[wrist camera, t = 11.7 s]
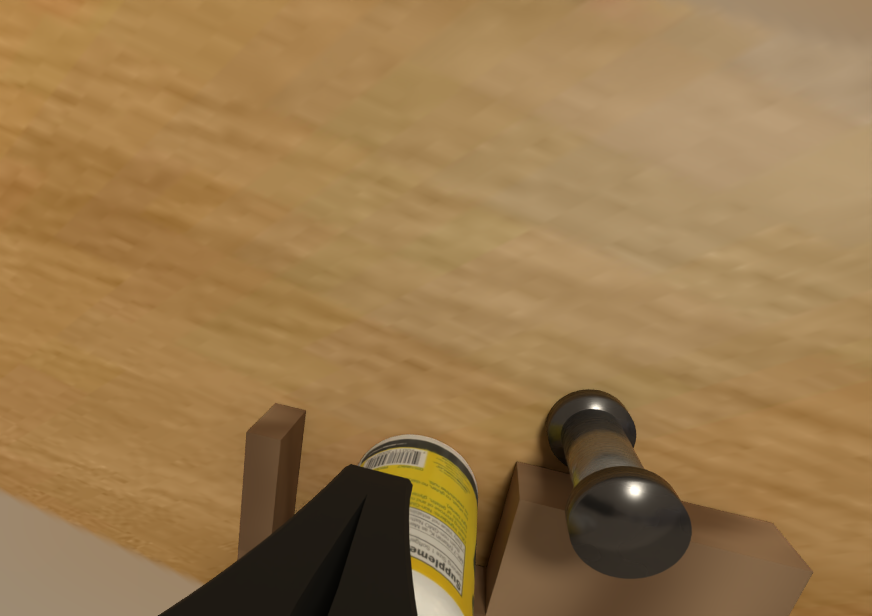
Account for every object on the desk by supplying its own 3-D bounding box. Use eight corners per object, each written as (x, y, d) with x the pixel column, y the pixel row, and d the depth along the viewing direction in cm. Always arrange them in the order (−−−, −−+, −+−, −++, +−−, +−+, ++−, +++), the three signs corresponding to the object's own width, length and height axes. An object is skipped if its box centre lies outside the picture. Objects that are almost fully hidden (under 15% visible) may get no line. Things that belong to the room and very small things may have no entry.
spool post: (641, 400, 15) (709, 498, 10) (616, 470, 15) (668, 591, 11) (558, 381, 15) (587, 469, 10) (537, 451, 16) (555, 562, 11)
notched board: (773, 523, 15) (813, 571, 13) (709, 647, 17) (737, 706, 15) (275, 403, 16) (246, 431, 14) (263, 529, 18) (236, 570, 16)
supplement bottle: (433, 557, 17) (381, 875, 9) (334, 492, 17) (194, 762, 9) (505, 477, 16) (516, 770, 8) (399, 406, 16) (301, 634, 8)
